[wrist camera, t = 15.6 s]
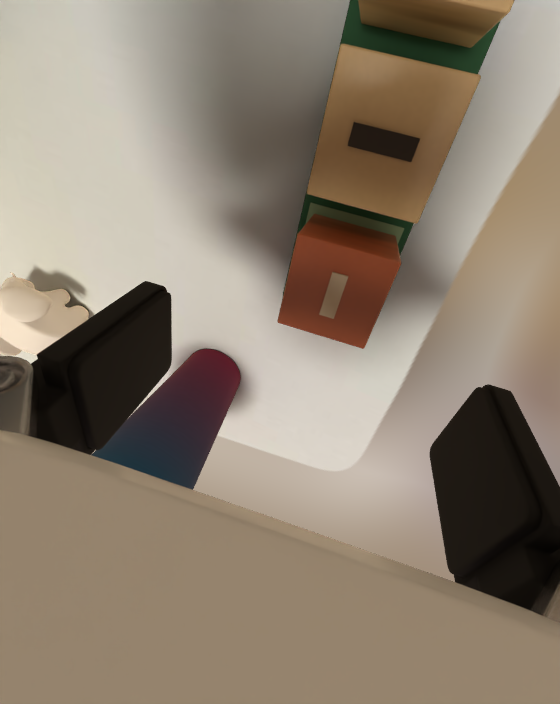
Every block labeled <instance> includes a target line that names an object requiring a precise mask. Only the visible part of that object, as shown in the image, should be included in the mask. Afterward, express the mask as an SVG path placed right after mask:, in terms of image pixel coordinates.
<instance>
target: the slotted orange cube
mask: <svg viewBox="0 0 560 704" xmlns="http://www.w3.org/2000/svg"><path fill="white" fill-rule="evenodd" d="M400 265H401V259H400V254H399V249H398V245H397V240H396V236H394V235H391V234H387V233H383V232H380V231H376V230H373V229H369V228H365V227H362V226H358V225H354V224H351V223H347V222H344V221H340V220H336V219H333V218H329V217H325V216H322V215H318V214H313V216H312V217H311V218H310V219H309V221H308V222H307V223H306V224H305V226H304V227H303V228H302V229H301V231H300V232H299V233H298V235H297V239H296V243H295V247H294V252H293V256H292V260H291V265H290V269H289V273H288V278H287V282H286V286H285V291H284V295H283V299H282V304H281V308H280V312H279V317H278V323H281V324H284V325H288V326H291V327H294V328H297V329H301V330H304V331H307V332H310V333H314V334H317V335H320V336H323V337H327V338H330V339H333V340H336V341H340V342H343V343H346V344H349V345H353V346H356V347H359V348H362V349H364V348H365V345H366V343H367V341H368V339H369V336H370V334H371V332H372V329H373V327H374V325H375V323H376V320H377V318H378V316H379V313H380V311H381V309H382V307H383V304H384V302H385V300H386V297H387V295H388V293H389V291H390V288H391V286H392V284H393V281H394V279H395V277H396V275H397V272H398V270H399V268H400Z"/></svg>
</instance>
